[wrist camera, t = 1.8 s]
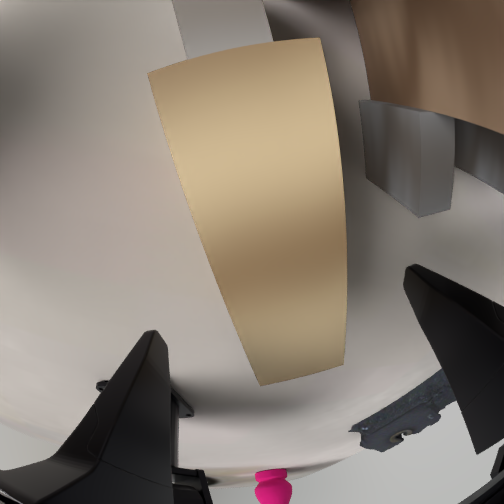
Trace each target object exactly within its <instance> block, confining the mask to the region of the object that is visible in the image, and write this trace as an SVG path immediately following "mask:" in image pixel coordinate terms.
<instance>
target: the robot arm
mask: <svg viewBox="0 0 504 504" xmlns="http://www.w3.org/2000/svg"><path fill="white" fill-rule="evenodd" d="M403 287H404V290H405V293H406V295H407V297H408V299H409V301H410V304H411V306H412V308H413V310H414V313H415V315H416V318H417V320H418V322H419V324H420V326H421V328H422V330H423V332H424V333H425V335H426V337H427V339H428V341H429V343H430V345H431V347H432V349H433V351H434V353H435V355H436V357H437V359H438V361H439V363H440V365H441V367H442V369H443V371H444V373H445V375H446V377H447V380H448V382H449V384H450V386H451V389H452V391H453V393H454V395H455V398H456V400H457V403H458V405H459V407H460V410H461V411H462V412H461V413H462V415H463V418H464V421H465V423H466V426H467V428H468V431H469V434H470V437H471V440H472V443H473V445H474V449H475V452H476V454H479V453H481V452H483V451H485V450H486V449H488V448H489V447H491V446H493V445H494V444H496V443H497V442H499V441H500V440H502V439H503V438H504V307H503V306H501V305H499V304H498V303H496V302H494V301H493V302H492V300H490V299H488V298H486V297H484V296H482V295H480V294H478V293H476V292H474V291H472V290H470V289H468V288H466V287H464V286H462V285H460V284H458V283H456V282H454V281H452V280H450V279H448V278H446V277H444V276H442V275H440V274H438V273H436V272H433V271H431V270H429V269H427V268H425V267H423V266H420V265H418V264H413V265H410V266H408V267H407V268H406V270H405V277H404V282H403ZM96 389H97V390H98V391H99V392H101V394H100V395H99V396H98V398H97V399H96V401H95V402H94V404H93V405H92V407H91V408H90V409H89V411H88V412H87V414H86V415H85V417H84V418H83V419H82V421H81V422H80V423H79V425H78V426H77V427H76V429H75V430H74V431H73V432H72V434H71V435H70V436H69V437H68V439H67V440H66V441H65V442H64V443H63V445H62V446H61V447H60V448H59V450H58V451H57V452H56V453H55V454H54V455H53V456H51V457H50V458H48V459H46V460H43V461H40V462H37V463H33V464H30V465H26V466H23V467H19V468H16V469H12V470H4V471H3V470H0V490H1V491H2V492H4V493H5V494H7V495H8V496H7V495H5V494H3V493H1V492H0V504H213V502H212V499H211V496H210V492H209V488H208V484H207V481H206V477H205V473H204V470H199V469H195V470H191V469H184V468H178V436H179V418H188V417H194V411H193V410H192V409H191V408H190V407H189V406H188V405H187V404H186V403H185V402H184V400H183V399H182V398H181V397H180V396H179V395H178V394H177V393H176V392H175V391H174V390H173V389H172V388H171V385H170V372H169V358H168V347H167V345H166V343H165V341H164V340H163V338H162V337H161V335H160V334H159V332H158V331H156V330H150V331H146V332H145V333H144V334H143V335H142V336H141V338H140V339H139V341H138V342H137V343H136V345H135V346H134V347H133V349H132V350H131V351H130V353H129V354H128V356H127V357H126V358H125V360H124V361H123V362H122V364H121V365H120V367H119V368H118V369H117V371H116V372H115V374H114V375H113V376H112V378H111V379H110V381H109V382H97V384H96ZM490 475H491V478H492V480H491V481H489V482H488V483H487V484H485V485H484V486H483V487H481V488H480V489H479V490H477V491H476V492H475V493H473V494H472V495H471V496H469V497H467V498H466V499H464V500H463V501H461V502H460V503H459V504H504V444H503V445H502V446H501V447H500V448H499V450H498V454H497V457H496V460H495V463H494V466H493V469H492V472H491V474H490ZM172 482H175V484H173V483H172ZM9 496H10V497H9Z"/></svg>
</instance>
